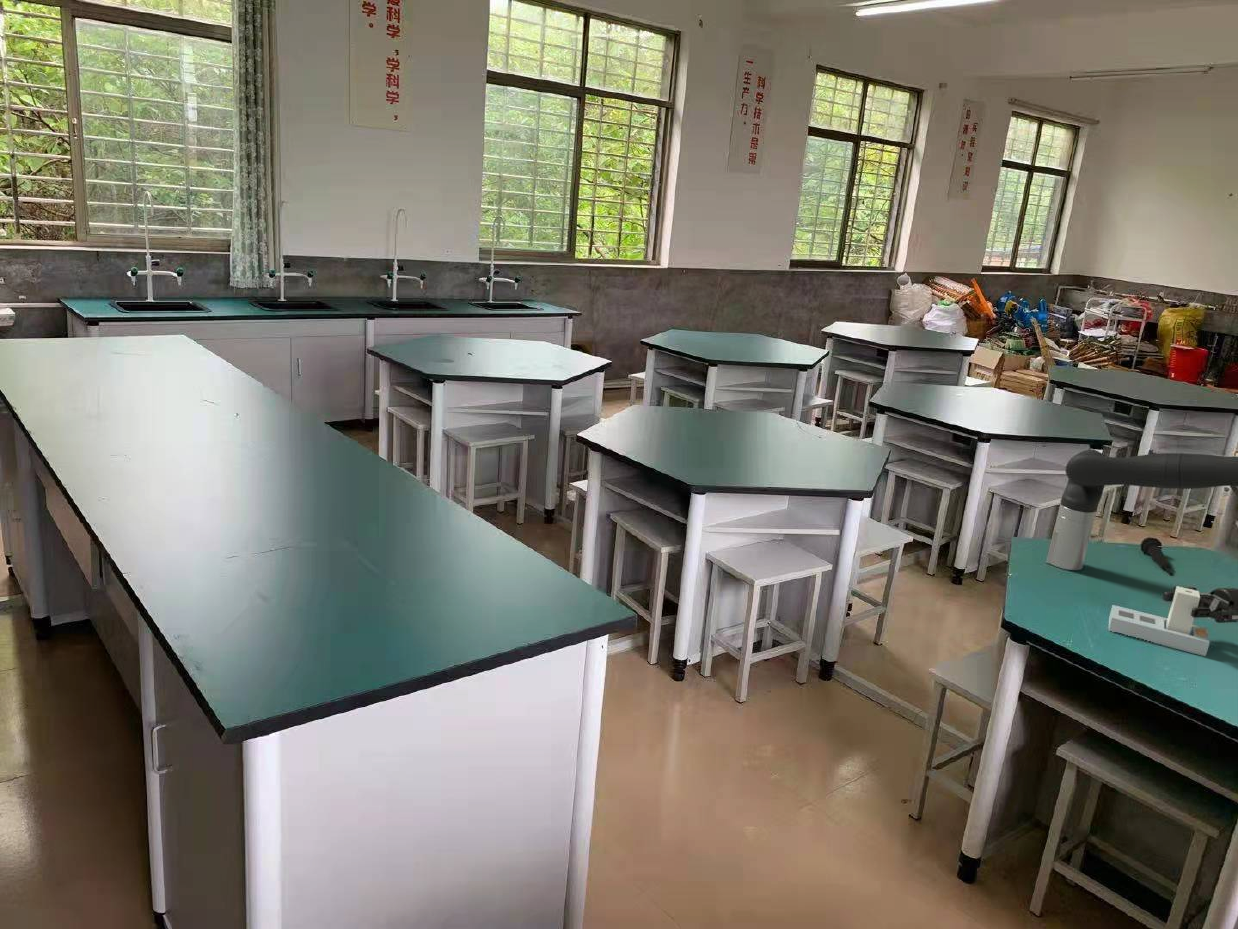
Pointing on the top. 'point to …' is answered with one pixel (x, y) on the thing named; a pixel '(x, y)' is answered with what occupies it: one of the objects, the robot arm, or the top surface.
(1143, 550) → the microphone
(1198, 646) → the power strip
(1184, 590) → the block
